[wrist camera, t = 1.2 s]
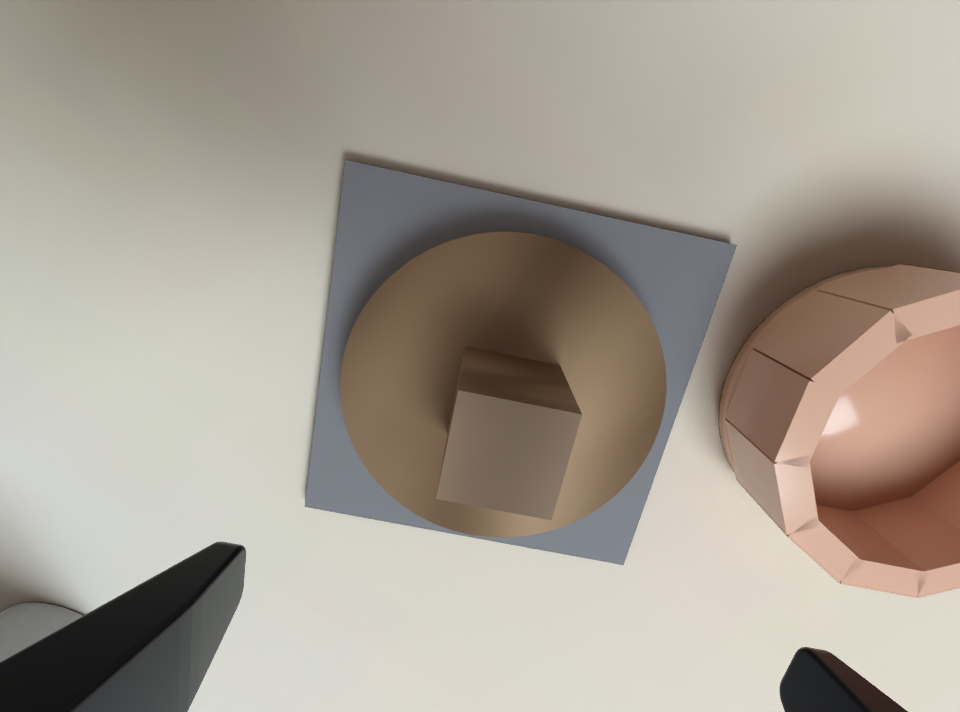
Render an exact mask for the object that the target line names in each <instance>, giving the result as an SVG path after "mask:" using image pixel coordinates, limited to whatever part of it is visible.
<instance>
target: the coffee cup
mask: <svg viewBox="0 0 960 712" xmlns="http://www.w3.org/2000/svg"><path fill="white" fill-rule="evenodd" d="M82 616H83V615H81V614H79V613H77V612H74V611H72V610H69V609H67V608H63V607H60V606H56V605H52V604H45V603H23V604H18V605H14V606H11V607H9V608H7V609H5V610H3V611H2V612H0V662H1V661H3V660H5V659H6V658H8V657H10V656H12V655H14V654H15V653H17V652H19V651H21V650H23V649H24V648H26V647H28V646H30V645H32V644H33V643H35V642H37V641H39V640H41V639H42V638H44V637H46V636H48V635H50V634H51V633H53V632H55V631H57V630H59V629H60V628H62V627H64V626H66V625H68V624H69V623H71V622H73V621H75V620H77V619H79V618H80V617H82Z"/></svg>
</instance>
